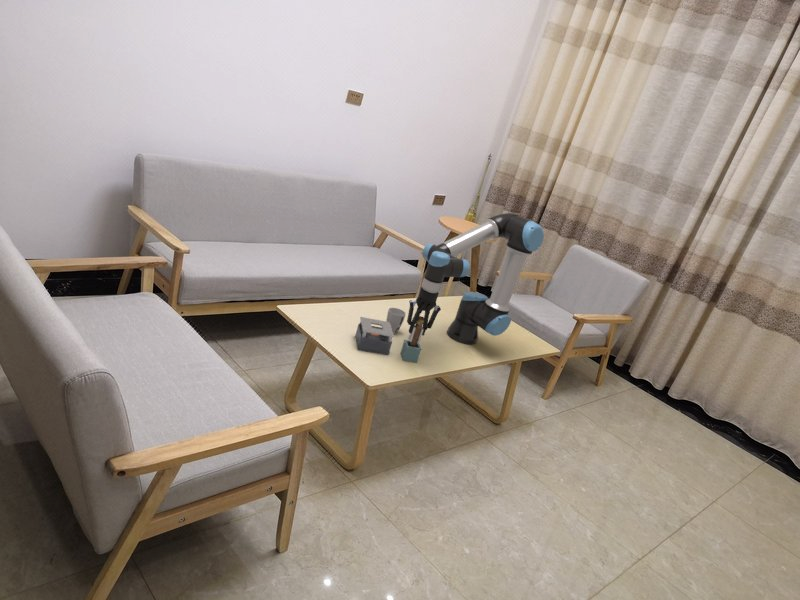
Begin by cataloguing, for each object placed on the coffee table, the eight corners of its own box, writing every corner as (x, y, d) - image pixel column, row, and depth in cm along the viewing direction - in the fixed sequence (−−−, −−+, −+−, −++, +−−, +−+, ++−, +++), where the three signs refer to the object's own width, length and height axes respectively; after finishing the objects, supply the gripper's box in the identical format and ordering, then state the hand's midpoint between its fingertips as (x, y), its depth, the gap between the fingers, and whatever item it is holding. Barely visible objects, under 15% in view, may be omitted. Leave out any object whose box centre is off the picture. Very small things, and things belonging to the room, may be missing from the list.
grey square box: (384, 340, 236) (389, 322, 233) (388, 355, 225) (394, 335, 221) (355, 335, 233) (360, 316, 230) (357, 350, 221) (363, 330, 218)
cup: (398, 337, 244) (404, 317, 240) (381, 331, 245) (386, 311, 241) (401, 330, 251) (407, 311, 248) (385, 325, 252) (390, 306, 249)
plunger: (376, 338, 230) (378, 330, 229) (377, 342, 227) (379, 334, 225) (368, 337, 229) (370, 329, 228) (369, 341, 226) (371, 332, 225)
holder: (414, 355, 231) (418, 342, 228) (416, 362, 225) (421, 349, 223) (400, 353, 229) (404, 339, 227) (402, 360, 224) (407, 346, 221)
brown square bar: (411, 354, 228) (423, 316, 222) (413, 358, 226) (425, 319, 220) (405, 353, 228) (417, 315, 222) (406, 356, 225) (418, 318, 219)
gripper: (446, 289, 222) (429, 339, 230) (409, 282, 218) (394, 333, 226) (450, 296, 215) (433, 348, 223) (413, 289, 211) (397, 341, 219)
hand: (413, 340), depth 224 cm, fingers closed on brown square bar, 3 cm apart
